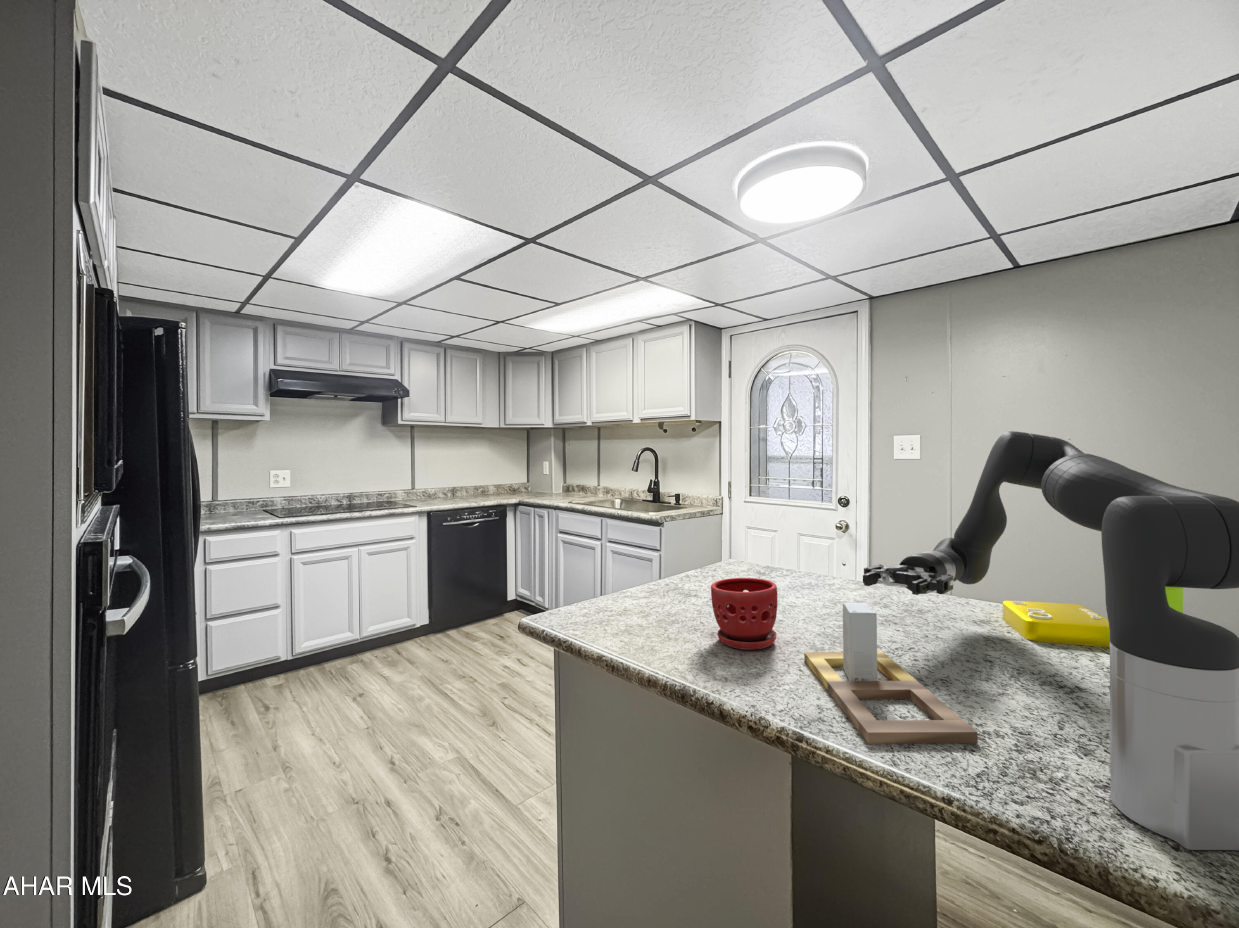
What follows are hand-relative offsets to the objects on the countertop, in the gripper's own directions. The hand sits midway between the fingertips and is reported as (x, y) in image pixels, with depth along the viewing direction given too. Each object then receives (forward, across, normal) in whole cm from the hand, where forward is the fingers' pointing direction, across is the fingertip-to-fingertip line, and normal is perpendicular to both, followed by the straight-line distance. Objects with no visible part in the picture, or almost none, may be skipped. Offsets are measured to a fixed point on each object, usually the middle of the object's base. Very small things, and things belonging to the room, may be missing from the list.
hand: (889, 584), depth 93 cm
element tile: (-40, +15, +14) cm, 45 cm away
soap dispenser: (-35, +29, +14) cm, 48 cm away
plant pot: (+11, -24, +14) cm, 30 cm away
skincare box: (+10, 0, +14) cm, 18 cm away
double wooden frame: (+14, +4, +14) cm, 21 cm away
